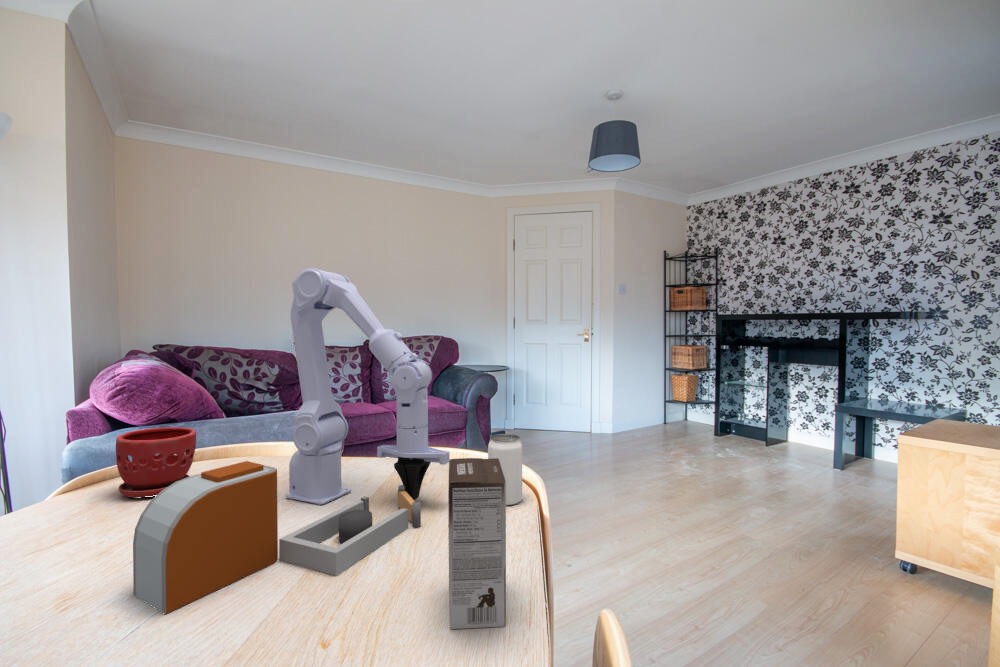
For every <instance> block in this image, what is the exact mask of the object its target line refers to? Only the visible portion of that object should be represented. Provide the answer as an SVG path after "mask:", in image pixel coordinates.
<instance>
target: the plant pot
mask: <svg viewBox="0 0 1000 667" xmlns="http://www.w3.org/2000/svg"><path fill="white" fill-rule="evenodd" d="M196 446H197V431H196V430H195V429H193V428H189V427H178V426H175V427H172V426H171V427H169V426H168V427H155V428H153V427H152V428H145V429H138V430H133V431H129V432H125V433H121V434H119V435H118V436H117V437H116V438H115V459H116V460H115V461H116V467H117V471H118V474H119V476H120V478H121V480H122V481H123V483H120V485H119V486H118V492H119V493H120V494H121V495H122V496H124V497H127V498H130V497H145V496H153V495H158V494H159V493H160V492H161V491H162V490H163V489H165V488H167V487H168V486H170V485H171V484H173V483H175V482H176V481H179V480H182V479H184V478H187V477H190V475H189V474H188V473H189V472H190V469H191V467H192V464H193V461H194V456H195V452H196V448H197V447H196ZM129 457H131V460H130V459H129Z"/></svg>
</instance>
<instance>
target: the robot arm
mask: <svg viewBox="0 0 1000 667" xmlns="http://www.w3.org/2000/svg"><path fill="white" fill-rule="evenodd" d="M291 284H292V292H293V300H292V303H291V309H290V322H291V330H292V336H293V342H294V343H293V344H294V351H295V357H296V364H297V370H298V372H297V374H298V380H299V385H300V392H301V400H302V405H301V406H300V407H299V409H298V410H297V412H296V413H295V414H294V428H293V432H292V441H293V443H294V446H295V447H296V449H297V450H296V451H295V452H294V453H293V455H292V456H291V458H290V460H289V463H288V464H289V465H288V466H289V467H288V469H289V470H288V471H289V472H288V473H289V477H288V478H289V480H288V481H289V483H288V484H289V489H288V490H289V493H288V494H286V495H285V497H286V498H287V499H291V500H295V501H296V500H297V501H300V502H306V503H312V504H317V505H324V504H326V503H327V504H328V502H331V501H333V500H337V499H338V498H340V497H342V496H344V495H347V494H348V493H351V492H352V489H351V488H347V487H342V447H343V441H344V440H345V439H346V437H347V435H348V434H349V424H348V421H347V419H346V418H345V416H344V415H343V411H342V405H340V404H339V403H338V402H337V401H336V400H335V399H334V398H333V393H332V386H331V378H330V371H329V365H328V357H327V350H326V344H325V338H324V331H323V320H324V318H326V316H327V315H328V314H329V313H330V312H331V311H334V310H335V309H340V310H342V311H343V312H345V314H346V315H347V316H348V317H349V319H351V321H352V322H353V323H354V324H355V325H356V326H357V327H358V328H359V329H360V330H361V332H362V333H363V334H364V335H365V336H366V337H367V338H368V340H369V342H368V348H369V349H368V350H370V352H371V353H372V355H374V357H375V358H376V359H377V361H378V362H379V364H381V366H383V368H384V369H385V371H386V372H387V373H388V374H389V375H390V376H391V377H389V380H390V382H389V383H390V385H391V387H392V389H393V390H394V391H395V394H396V395H395V396H396V398H395V399H396V445H395V444H382V445H379V446H377V447H376V456H377V458H384V457H385V458H393V459H397V461H396V462H394V463H393V467H394V469H395V471H396V472H397V474H398V476H399V478H400V481H401V483H402V485H405V491H406V492H407V493H408V494H409V495H410V497H411V498H412V499H413V500H414V501H415V500H417V499H418V498H420V494H421V493H420V492H421V489H422V483H423V482H424V481H423V480H424V478H425V476H426V475H425V474H426V473H427V471H428V468H429V467H430V466H431V463H435V464H436V463H437V464H439V465H444V466H445V465H447V464H448V463H449V461H450V459H451V458H450V451H448V450H442V449H438V448H434V447H431V446H429V417H428V416H429V413H428V412H429V407H428V406H429V405H428V404H429V402H428V401H429V400H428V387H429V386H430V384H431V383H432V379H433V371H432V369H431V367H430V366H429V363H428V362H427V361H425V360H423V359H418V357H419V356H418V354H416V352H412V351H411V349H410V348H409V347H408V346H407V345H406V343H405V342H404V341H403V340H402V339H403V337H404V336H403V335H402V333H400V331H399V332H398V331H395V330H394V329H392V328H385V327H384V326H383V325H382V323H381V322H380V321H379V319H378V318H377V317H376V315H375V314H374V313H373V311H372V310H371V308H370V307H369V305H368V304H367V302H365V300H364V299H363V297H362V296H361V295H360V294H359V291H358V289H357V286H356V285H355V284H353V283H352V282H351V280H350V279H349V278H348V276H346V275H345V274H343V273H341V272H340V273H339V272H330V271H325V270H321V269H318V268H316V267H307V268H305V269H303V270H302V271H300V272H299V273H298V275H297V277H296V278H295V279H294V280H293V282H292V283H291Z"/></svg>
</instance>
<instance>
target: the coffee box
mask: <svg viewBox="0 0 1000 667" xmlns="http://www.w3.org/2000/svg"><path fill="white" fill-rule="evenodd" d="M448 463H449V464H448V496H447V498H448V518H447V519H448V594H449V596H448V597H449V598H448V599H449V605H448V608H449V609H448V610H449V629H450V630H462V629H463V630H464V629H482V628H484V629H485V628H499V627H500V628H502V627H506V625H507V618H506V617H507V616H506V615H507V611H506V610H507V609H506V608H507V606H506V603H507V602H506V601H507V600H506V599H507V597H506V596H507V594H506V593H507V591H506V590H507V584H506V583H507V582H506V581H507V580H506V578H507V573H506V572H507V571H506V570H507V568H506V567H507V551H506V550H507V530H506V529H507V511H506V510H507V508H506V507H507V506H506V481H505V477H504V474H503V471H502V468H501V465H500V462H499V459H498V458H495V459H488V458H481V457H475V458H474V457H467V458H466V457H464V458H450V461H449V462H448Z"/></svg>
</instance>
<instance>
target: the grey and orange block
mask: <svg viewBox="0 0 1000 667" xmlns="http://www.w3.org/2000/svg"><path fill="white" fill-rule="evenodd" d="M189 476H190V475H189ZM278 524H279V523H278V469H277V468H276V467H273V466H269V465H265V464H261V463H256V462H253V461H248V460H245V461H241V462H238V463H233V464H230V465H226V466H221V467H219V468H213V469H209V470H206V471H202V472H200V473H199V474H194V475H191V476H190V477H187V478H184V479H182V480H179V481H176V482H175V483H173V484H171V485H170V486H168V487H167V488H165V489H163V490H162V491H161V492H160V493H159V494H158V495H157V496H156V497H152V499H151V500H150V501H149V502H148V504H147V505H146V506H145V508H144V510H143V511H142V512H141V514H140V516H139V518H138V521H137V523H136V526H135V527H134V533H133V540H132V558H133V561H132V573H133V574H132V575H133V576H132V577H133V578H132V579H133V582H132V584H133V587H132V588H133V596H134V597H135V598H137V599H139V600H141V601H142V600H143V601H142V602H144V601H145V602H147V603H148V604H147V603H146V604H147V605H149V604H150V605H152V606H153V607H155V608H156V609H155V608H154V609H155V610H157V611H158V610H159V611H158V612H159V613H161V612H162V613H161V614H163V613H164V614H163V615H168V614H170V613H171V612H174V611H176V610H179V609H180V608H182V607H184V606H187V605H188V604H191V603H193V602H195V601H197V600H199V599H201V598H203V597H205V596H208V595H210V594H212V593H215V592H216V591H218V590H221V589H222V588H223V589H224V588H225V587H226V586H229V585H231V584H233V583H235V582H238V581H239V580H243V579H244V578H247V577H249V576H250V575H252V574H255V573H256V572H259V571H261V570H263V569H265V568H267V567H270V566H271V565H273V564H275V562H277V560H278V559H279V558H278V557H279V556H278V555H279V553H278V552H279V550H278V549H279V543H278V542H279V538H278V535H279V534H278V533H279V532H278ZM145 602H144V603H145ZM150 605H149V606H150ZM152 606H151V607H152ZM153 607H152V608H153Z"/></svg>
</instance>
